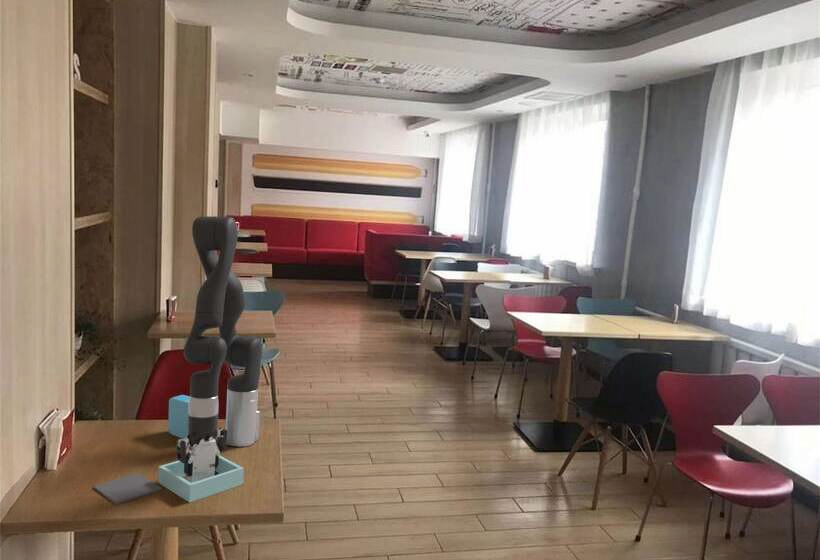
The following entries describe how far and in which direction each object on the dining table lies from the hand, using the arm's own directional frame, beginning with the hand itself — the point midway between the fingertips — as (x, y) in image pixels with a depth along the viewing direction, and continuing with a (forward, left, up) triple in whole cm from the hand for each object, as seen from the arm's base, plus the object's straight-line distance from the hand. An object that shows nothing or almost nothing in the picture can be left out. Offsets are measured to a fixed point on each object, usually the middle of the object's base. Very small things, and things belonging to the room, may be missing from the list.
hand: (201, 471), depth 175 cm
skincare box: (0, 0, -4) cm, 4 cm away
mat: (+15, -9, -3) cm, 18 cm away
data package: (-15, -32, -4) cm, 35 cm away
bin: (0, 0, -3) cm, 3 cm away
